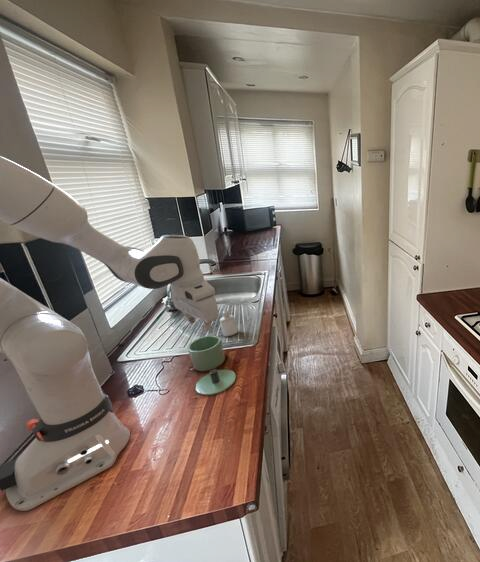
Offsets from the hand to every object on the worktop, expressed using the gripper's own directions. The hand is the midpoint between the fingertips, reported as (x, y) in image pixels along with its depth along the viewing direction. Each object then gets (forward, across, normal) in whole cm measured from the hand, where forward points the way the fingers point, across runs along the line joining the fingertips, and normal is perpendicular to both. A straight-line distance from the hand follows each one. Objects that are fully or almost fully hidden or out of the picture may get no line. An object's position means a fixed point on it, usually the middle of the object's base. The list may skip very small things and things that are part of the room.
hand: (199, 326), depth 98 cm
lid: (+19, +5, -2) cm, 20 cm away
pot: (+19, -8, +3) cm, 21 cm away
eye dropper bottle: (+19, -19, +19) cm, 34 cm away
